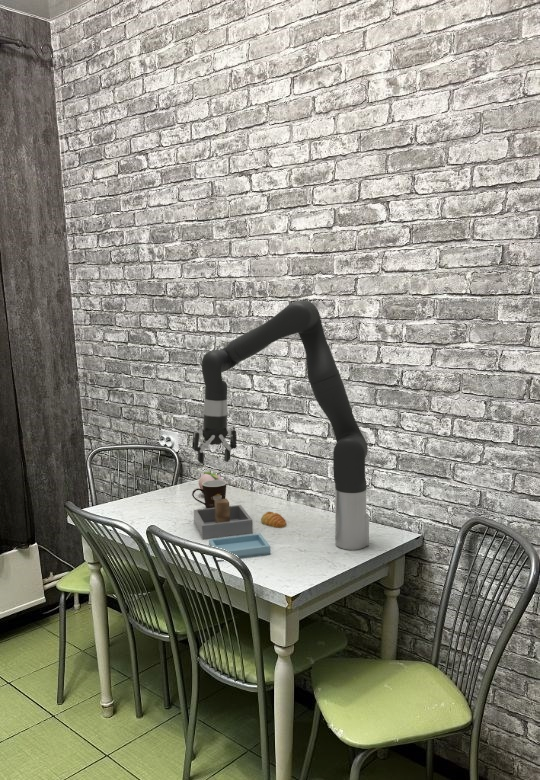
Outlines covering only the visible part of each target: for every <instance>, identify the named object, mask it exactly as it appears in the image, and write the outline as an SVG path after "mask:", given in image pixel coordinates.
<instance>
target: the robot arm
mask: <svg viewBox="0 0 540 780" xmlns="http://www.w3.org/2000/svg"><path fill="white" fill-rule="evenodd" d="M321 319H322V318H321V315H320V312H319V310H318V308H317V306H316V305H315V304H314V303H313V302H311V301H309V300H299V301H298V300H297V301H293V302H291V303H289V304H288V305H287V306H285V307H284V308H283V309H282V310H280V311H279V312H278V313H277V314H275V315H274V316H273V317H271V318H270V319H269V320H267V321H266V322H263V324H261V325H259V326H257V327H255V328H253V329H251V330H249V331H247V332H245V333H244V334H242V335H240V336H238V337H236V338H235V339H233V340H231V341H230V342H229V343H228V344H227V345H226V346H224V347H223V348H221V349H218V350H217V349H216V350H211V351H208V352H206V353H205V354H204V355H203V357H202V360H201V372H202V377H203V378H202V379H203V381H204V387H205V388H204V401H203V402H204V403H203V421H202V422H203V423H202V425H203V429H202V431H196V430H194V431H193V432H192V444H191V448H192V450H194V451H195V452H197V462H198V463H199V464H201V465H203V464H204V458H205V457H204V456H205V455H204V453H205V452H204V451H205V450H206V449H207V448H208V447H209V446H210V445H211V446H213V445H221V444H222V446H224V456H223V458H224V462H225V463H228V462H229V461H230V459H231V451H232V450H233V449H237V431H236V430H235V429H234V428H230V429H229V430H228V408H229V407H228V384H227V382H226V381H225V380H223V376H222V375H223V374H222V373H224V372H227V371H229V370H230V369H232V368H234V367H235V366H236V365H238V364H239V363H241V362H242V361H245V360H246V359H249V358H251V357H252V356H255V355H256V354H258V353H259V352H261V351H262V350H264V349H265V348H267V347H268V346H270V345H271V344H273V343H274V342H276V341H278V340H281V339H282V338H283V339H284V338H286V337H290V336H292V335H295V334H297V335H298V336H299V338H300V340H301V342H302V346H303V348H304V352H305V359H306V360H305V361H306V374H307V379H308V382H309V385H310V387H311V390H312V394H313V395H314V398H315V400H316V402H317V404H318V405H319V407H320V408H321V410H322V412H323V413H324V414H325V416H326V418H327V419H328V421H329V423H330V425H331V427H332V431H333V434H334V437H335V441H336V444H335V445H334V447H333V453H332V455H333V456H332V458H333V459H332V460H333V461H332V464H333V465H332V466H333V468H332V470H333V480H334V481H333V482H334V487H335V488H334V492H335V493H334V497H335V499H334V500H335V501H334V502H335V509H334V512H335V516H334V517H335V518H334V519H335V520H334V521H335V522H334V524H335V525H334V526H335V527H334V529H335V530H334V531H335V532H334V533H335V535H334V539H335V545H336V547H338V548H340V549H343V550H349V551H355V550H356V551H357V550H362V549H364V548H365V547H369V546H370V515H369V514H368V512H367V479H366V457H367V455H368V451H369V449H368V443H367V440H366V439H365V437H364V435H363V433H362V431H361V429H360V427H359V424H358V423H357V421H356V419H355V416H354V414H353V410H352V407H351V403H350V399H349V397H348V393H347V391H346V388H345V385H344V382H343V379H342V377H341V374H340V371H339V369H338V367H337V363H336V361H335V359H334V356H333V354H332V351H331V348H330V347H329V344H328V341H327V338H326V335H325V331H324V327H323V323H322V320H321ZM228 436H229V442H230V444H229V443H228V441H227V440H226V437H228ZM201 438H203V439H202V440H201V442H200V439H201ZM199 442H200V443H199Z"/></svg>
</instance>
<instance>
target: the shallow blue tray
mask: <svg viewBox="0 0 540 780" xmlns="http://www.w3.org/2000/svg"><path fill="white" fill-rule="evenodd" d="M209 545H210V546H214V547H218V548H222V549H225V550H227V551H229V552H231V553H233V554H235V555H237V556H238V557H239V558H240V559H245V558H246V559H247V558H255V557H262V556H267V555H271V545H270V543H269V542H268V541H267V540H266V539H265V537H264V536H263V534H262V533H253V534H245V535H237V536H229V537H221V538H212V539H208V546H209Z"/></svg>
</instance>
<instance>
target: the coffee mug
mask: <svg viewBox="0 0 540 780" xmlns="http://www.w3.org/2000/svg"><path fill="white" fill-rule="evenodd" d="M227 484H228V483H227V481H226V480H223V479H222V480H209V481H205V482H203V483H202V487H203V489H200V487H199V488H195V489H194V490H193V491H192V493H191V496H192V498H193V499H194V500H195V501H197V502H198V503H200V504H203V505H204V506H205V509H206V508H215V500H217V499H226V495H227V493H226V492H227ZM196 491H200V492H201V493H202V494H203V499H204V502H203V501H201V500H200V499H198V498H197V497H196V496H195V493H196Z"/></svg>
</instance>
